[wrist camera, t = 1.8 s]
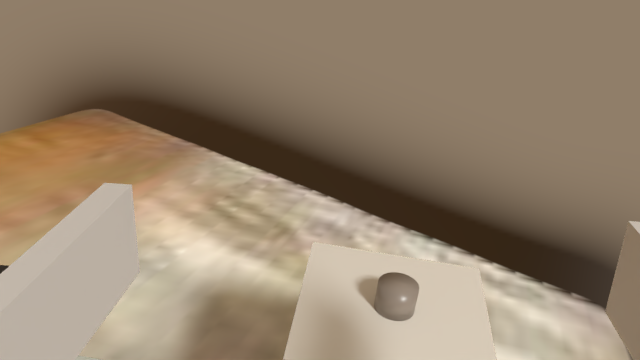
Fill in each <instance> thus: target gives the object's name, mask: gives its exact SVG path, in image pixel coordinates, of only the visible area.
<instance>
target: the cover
mask: <svg viewBox="0 0 640 360" xmlns="http://www.w3.org/2000/svg"><path fill="white" fill-rule="evenodd" d="M283 360H497V358H496V353H495V347H494V342H493V337H492V332H491V327H490V322H489V317H488V312H487V306H486V301H485V296H484V291H483V286H482V281H481V276H480V270H479V268H473V267H466V266H460V265H454V264H448V263H442V262H435V261H429V260H423V259H417V258H411V257H404V256H398V255H392V254H386V253H380V252H373V251H367V250H361V249H355V248H349V247H342V246H336V245H330V244H324V243H317V242H313V244H312V248H311V252H310V256H309V260H308V264H307V268H306V271H305V275H304V279H303V283H302V287H301V291H300V295H299V299H298V303H297V306H296V310H295V314H294V318H293V322H292V326H291V330H290V334H289V338H288V341H287V345H286V349H285V353H284V357H283Z"/></svg>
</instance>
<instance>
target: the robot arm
mask: <svg viewBox="0 0 640 360" xmlns="http://www.w3.org/2000/svg"><path fill="white" fill-rule="evenodd" d="M139 273H140V268H139V257H138V247H137V236H136V225H135V215H134V204H133V193H132V185H127V184H113V183H104V184H103V185H102V186H101V187H99V188H98V189H97V190H96V191H95V192H94V193H93V194H91V195H90V196H89V197H88V198H87V199H86V200H84V201H83V202H82V203H81V204H80V205H79V206H78V207H76V208H75V209H74V210H73V211H72V212H71V213H70V214H68V215H67V216H66V217H65V218H64V219H63V220H62V221H60V222H59V223H58V224H57V225H56V226H55V227H54V228H52V229H51V230H50V231H49V232H48V233H47V234H45V235H44V236H43V237H42V238H41V239H40V240H39V241H37V242H36V243H35V244H34V245H33V246H32V247H31V248H29V249H28V250H27V251H26V252H25V253H24V254H23V255H21V256H20V257H19V258H18V259H17V260H16V261H15V262H13V263H12V264H11V265H10V266H4V265H0V360H75V359H76V358H77V357H78V355H79V354H80V353H81V351H82V350H83V349H84V347H85V346H86V344H87V343H88V342H89V340H90V339H91V338H92V336H93V335H94V334H95V332H96V331H97V330H98V328H99V327H100V325H101V324H102V323H103V321H104V320H105V319H106V317H107V316H108V315H109V313H110V312H111V311H112V309H113V308H114V306H115V305H116V304H117V302H118V301H119V300H120V298H121V297H122V296H123V294H124V293H125V292H126V290H127V289H128V287H129V286H130V285H131V283H132V282H133V281H134V279H135V278H136V277H137V275H138V274H139ZM605 312H606V314H607V315H608V317H609V319H610V321H611V322H612V324H613V326H614V327H615V329H616V331H617V332H618V334H619V336H620V338H621V339H622V341H623V343H624V344H625V346H626V348H627V350H628V351H629V353H630V355H631V356H632V358H633V360H640V222H633V221H629V222H628V226H627V230H626V234H625V237H624V241H623V245H622V249H621V253H620V257H619V261H618V265H617V268H616V272H615V276H614V280H613V284H612V288H611V292H610V296H609V300H608V303H607V307H606V311H605Z"/></svg>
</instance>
